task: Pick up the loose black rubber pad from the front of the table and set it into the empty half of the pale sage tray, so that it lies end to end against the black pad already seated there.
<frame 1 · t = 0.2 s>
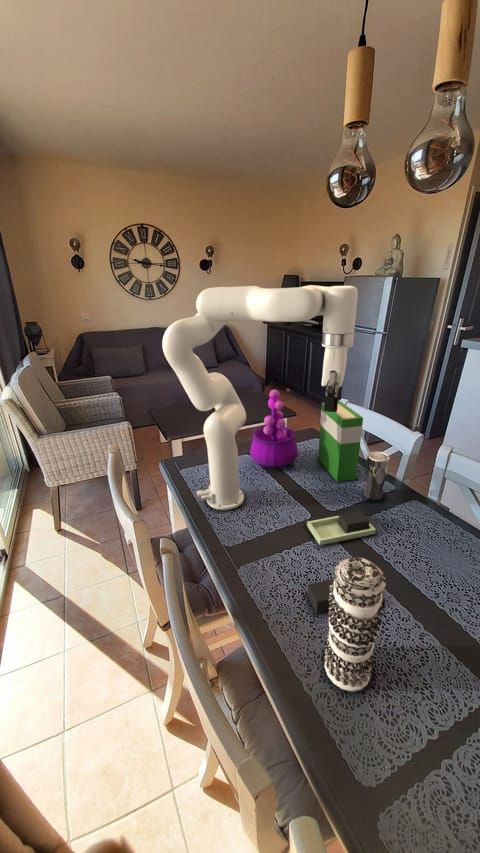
hand: (332, 404, 95), 37 cm above the table, tool pointing down, fingers open, 9 cm apart
loose pad: (325, 600, 83), on the table
hardback book: (336, 468, 138), on the table
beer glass: (372, 496, 121), on the table
decorative candle: (346, 668, 69), on the table
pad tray: (340, 530, 105), on the table
seated pad: (352, 527, 106), resting on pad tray
decorative plant: (273, 462, 144), on the table
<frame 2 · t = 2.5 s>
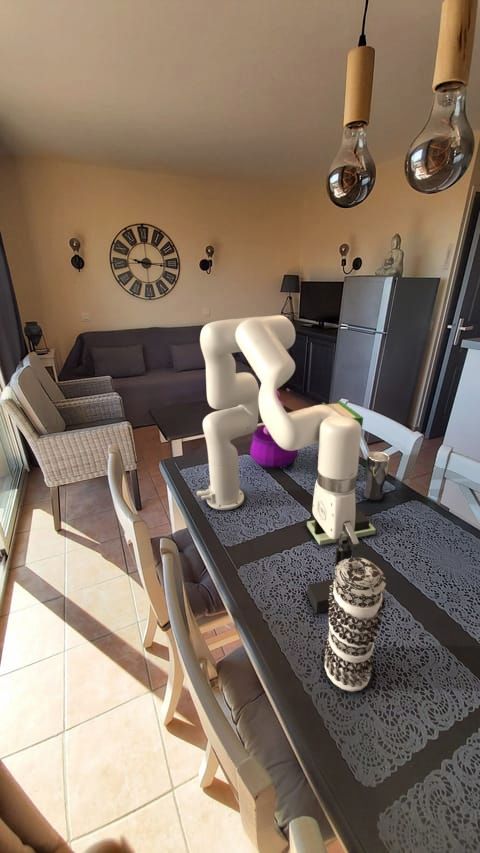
hand: (331, 547, 78), 15 cm above the table, tool pointing down, fingers open, 9 cm apart
nothing on the table moved.
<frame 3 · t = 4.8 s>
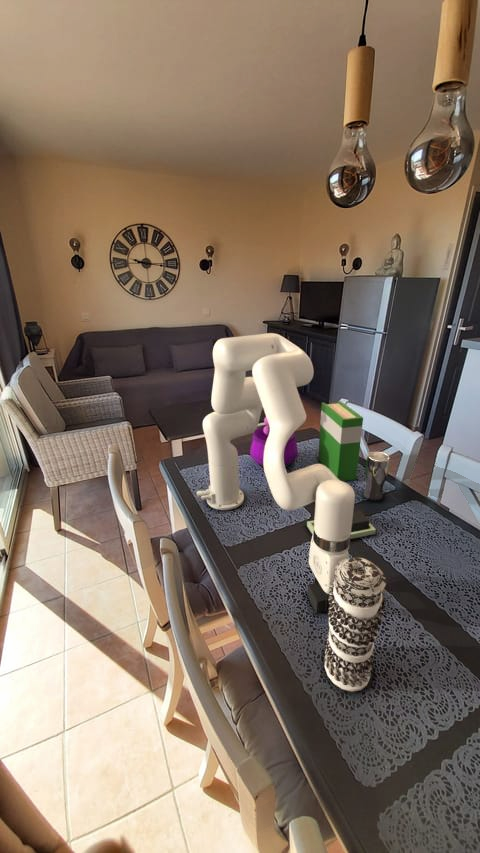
hand: (325, 598, 83), 1 cm above the table, tool pointing down, fingers closed on loose pad, 5 cm apart
loose pad: (325, 600, 83), on the table, touching gripper
everything else where it was.
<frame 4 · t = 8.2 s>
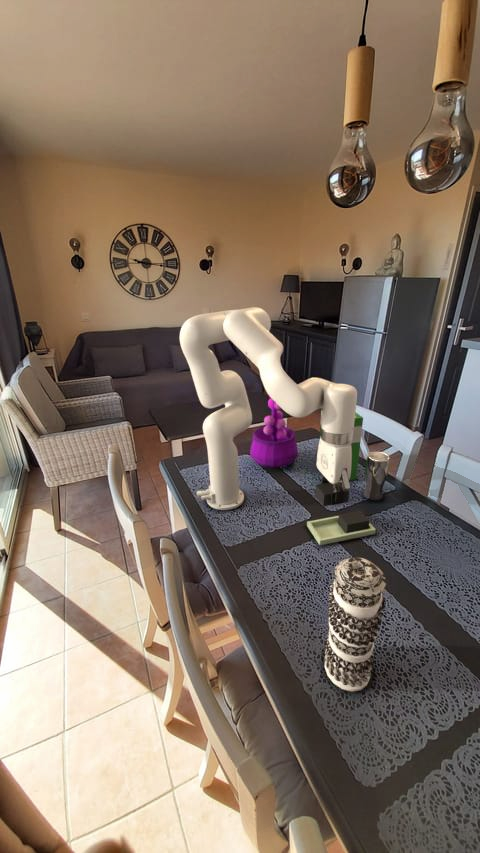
hand: (331, 496, 95), 15 cm above the table, tool pointing down, fingers closed on loose pad, 5 cm apart
loose pad: (331, 498, 95), point 14 cm above the table, touching gripper
everything else where it was.
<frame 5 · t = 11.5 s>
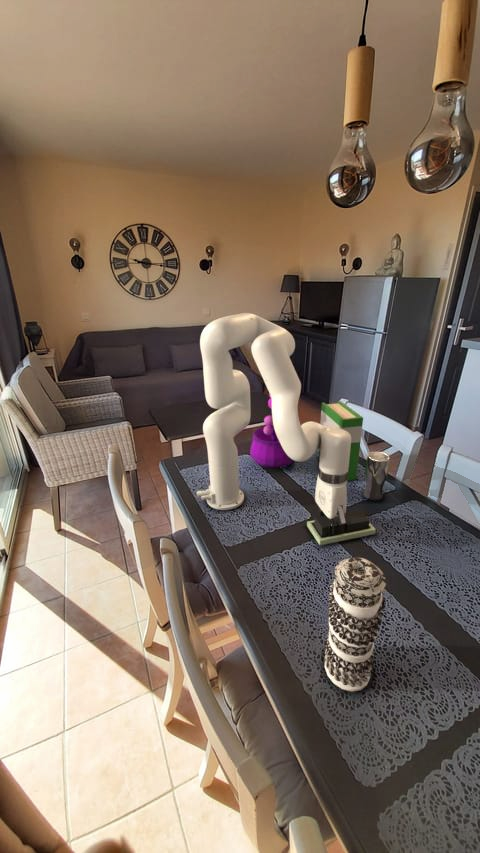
hand: (328, 528, 103), 2 cm above the table, tool pointing down, fingers closed on loose pad, 5 cm apart
loose pad: (328, 530, 104), point 1 cm above the table, touching gripper
everything else where it was.
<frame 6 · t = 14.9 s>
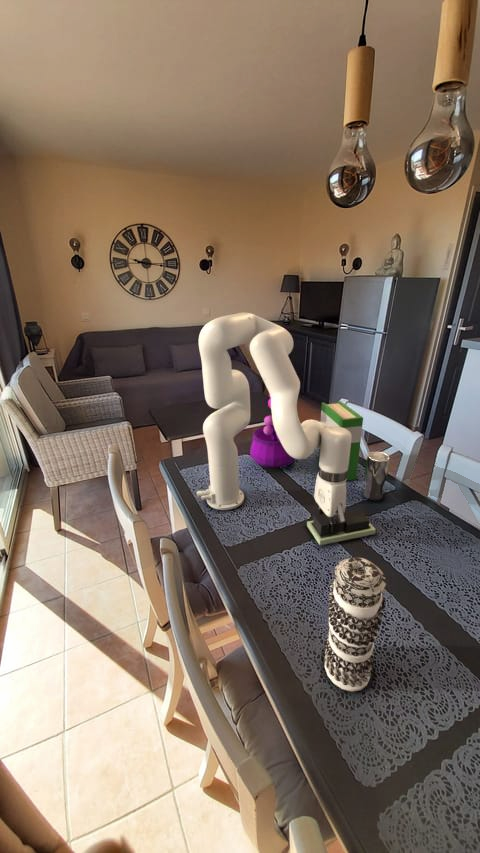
hand: (327, 526, 103), 2 cm above the table, tool pointing down, fingers closed on loose pad, 4 cm apart
loose pad: (327, 528, 104), point 2 cm above the table, touching gripper
everything else where it was.
when the fingers open (3 cm above the table, at t = 17.9 s): loose pad drops 1 cm, resting on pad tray.
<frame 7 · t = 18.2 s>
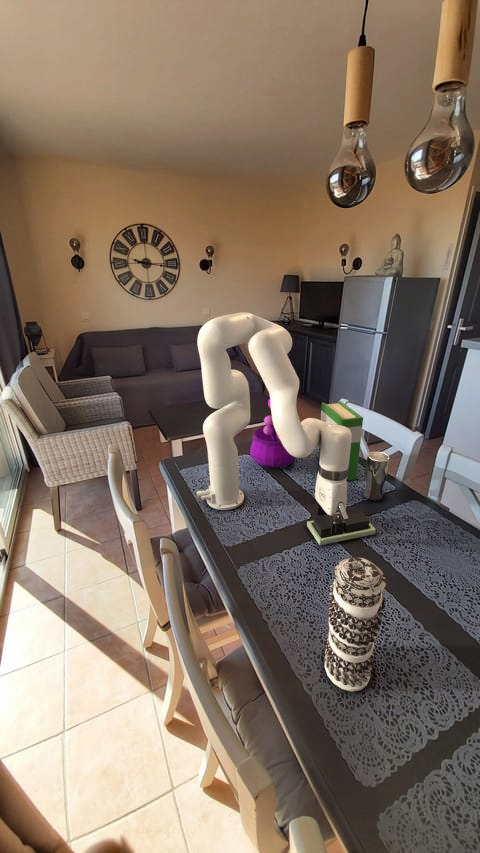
hand: (328, 523, 103), 4 cm above the table, tool pointing down, fingers open, 8 cm apart
loose pad: (327, 531, 104), resting on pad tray
everything else where it was.
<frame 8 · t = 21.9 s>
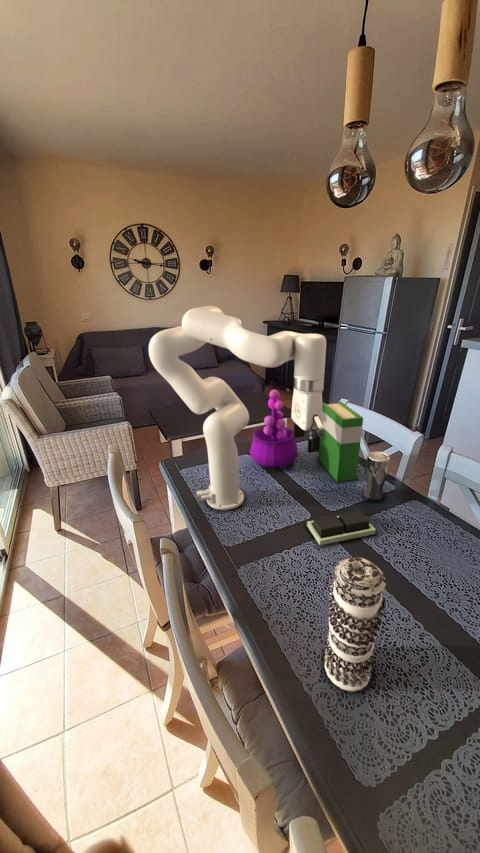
hand: (305, 443, 99), 26 cm above the table, tool pointing down, fingers open, 9 cm apart
nothing on the table moved.
at the end: loose pad 0.1 cm from the target spot in the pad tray, point 0.5 cm above the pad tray's base; loose pad 8.0 cm from the seated pad (horizontally); loose pad tilted 0° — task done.
